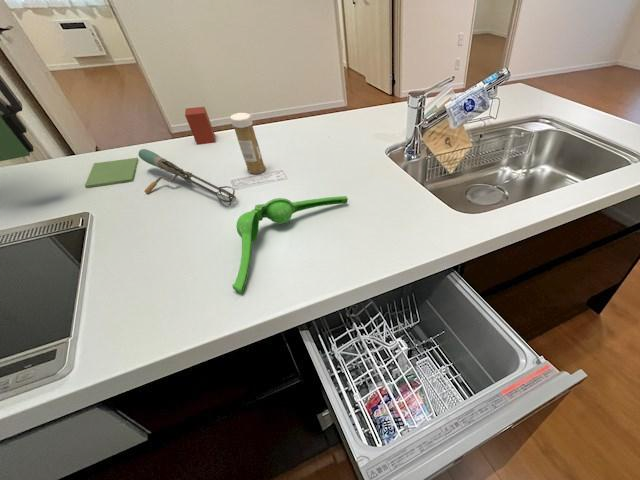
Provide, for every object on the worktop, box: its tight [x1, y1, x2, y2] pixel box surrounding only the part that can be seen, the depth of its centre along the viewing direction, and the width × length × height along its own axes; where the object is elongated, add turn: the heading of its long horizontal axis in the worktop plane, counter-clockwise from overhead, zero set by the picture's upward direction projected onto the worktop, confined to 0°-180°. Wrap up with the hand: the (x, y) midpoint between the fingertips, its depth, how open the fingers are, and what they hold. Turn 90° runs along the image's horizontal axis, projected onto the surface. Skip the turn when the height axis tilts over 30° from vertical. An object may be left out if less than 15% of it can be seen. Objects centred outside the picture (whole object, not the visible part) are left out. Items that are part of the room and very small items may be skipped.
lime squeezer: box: [232, 195, 349, 295], centre depth 70 cm, size 34×12×6 cm, turn 152°
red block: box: [184, 106, 216, 145], centre depth 99 cm, size 5×5×8 cm
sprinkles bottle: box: [230, 112, 266, 175], centre depth 85 cm, size 5×5×13 cm
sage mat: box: [84, 157, 139, 189], centre depth 87 cm, size 12×10×1 cm
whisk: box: [138, 148, 237, 208], centre depth 81 cm, size 11×32×7 cm, turn 58°
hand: (13, 152), depth 71 cm, fingers closed on green block, 5 cm apart
